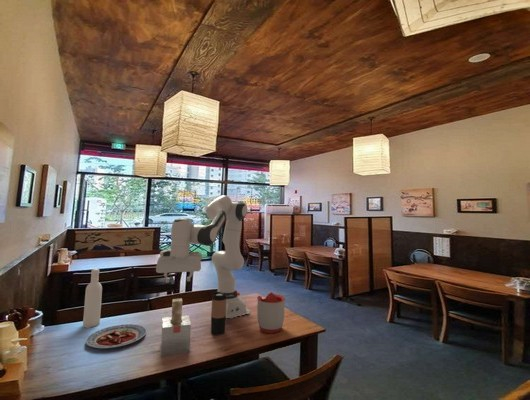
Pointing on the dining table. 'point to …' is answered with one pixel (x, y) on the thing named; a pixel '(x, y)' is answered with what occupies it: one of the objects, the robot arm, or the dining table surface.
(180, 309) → the birch post
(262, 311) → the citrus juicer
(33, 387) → the dining table surface
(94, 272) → the bottle
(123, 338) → the ceramic plate
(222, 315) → the travel mug
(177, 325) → the sleeve block
